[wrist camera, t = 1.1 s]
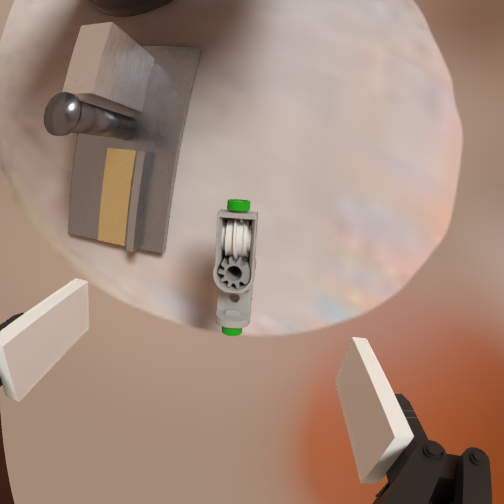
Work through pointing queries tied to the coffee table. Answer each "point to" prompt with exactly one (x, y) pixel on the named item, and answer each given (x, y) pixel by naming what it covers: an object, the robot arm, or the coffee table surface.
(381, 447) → the robot arm
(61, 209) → the coffee table surface
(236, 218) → the mechanical component
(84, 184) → the hinge base
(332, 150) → the coffee table surface
